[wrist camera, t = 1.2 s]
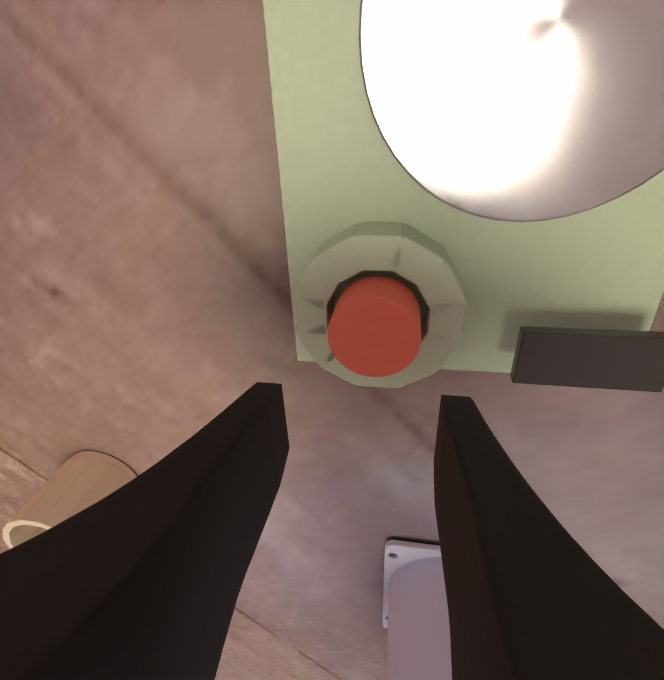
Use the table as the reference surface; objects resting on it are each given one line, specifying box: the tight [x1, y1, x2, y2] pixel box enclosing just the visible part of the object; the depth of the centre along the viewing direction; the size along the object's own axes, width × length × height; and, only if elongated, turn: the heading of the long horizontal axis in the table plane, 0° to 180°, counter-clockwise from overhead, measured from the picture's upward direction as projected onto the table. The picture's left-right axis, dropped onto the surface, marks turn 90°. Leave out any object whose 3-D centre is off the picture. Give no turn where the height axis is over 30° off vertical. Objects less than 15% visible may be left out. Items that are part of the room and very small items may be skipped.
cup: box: [2, 451, 137, 549], centre depth 25 cm, size 5×5×5 cm
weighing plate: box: [359, 0, 664, 392], centre depth 11 cm, size 14×10×1 cm
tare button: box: [327, 275, 421, 377], centre depth 14 cm, size 3×3×2 cm
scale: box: [262, 0, 664, 388], centre depth 13 cm, size 16×13×3 cm
